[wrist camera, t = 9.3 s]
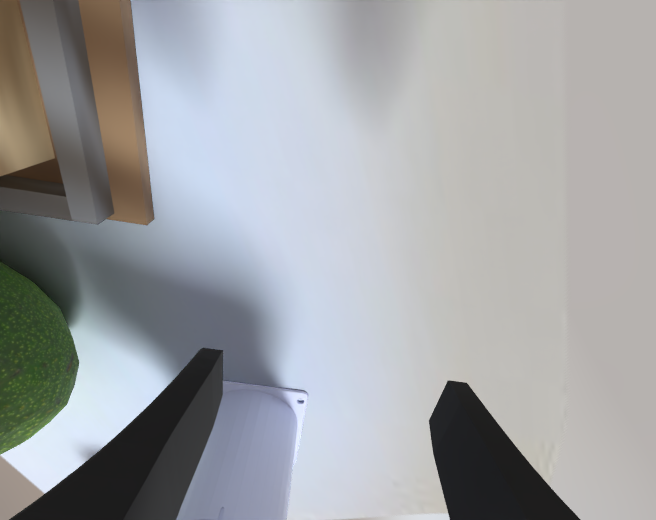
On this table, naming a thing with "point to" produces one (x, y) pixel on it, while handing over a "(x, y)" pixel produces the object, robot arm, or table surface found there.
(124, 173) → the channel
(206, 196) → the table surface
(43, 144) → the wooden block
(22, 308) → the fruit
